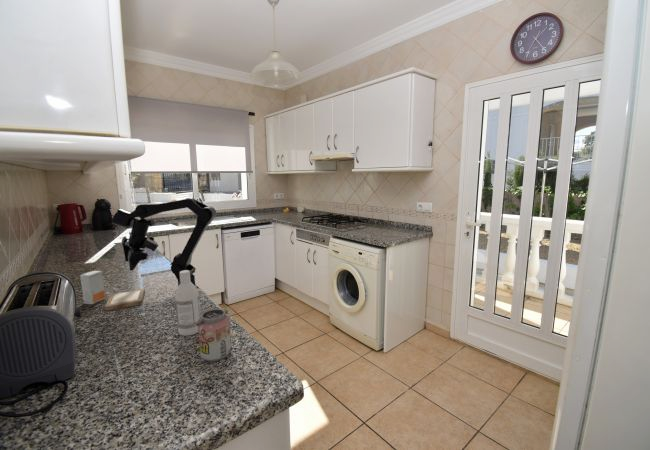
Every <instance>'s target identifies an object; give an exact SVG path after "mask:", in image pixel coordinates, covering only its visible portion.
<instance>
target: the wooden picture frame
mask: <svg viewBox="0 0 650 450" xmlns="http://www.w3.org/2000/svg"><path fill="white" fill-rule="evenodd" d="M145 294H146V289H145V288H140V289H134V290H128V291H123V292H115V293H111V294H110V296H109V298H108V300H107V302H106V303H105V305H104V311H109V310H117V309H123V308H127V307H133V306H139V305H143V303H144V302H143V301H144V300H145V299H144V298H145Z"/></svg>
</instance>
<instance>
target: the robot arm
mask: <svg viewBox="0 0 650 450" xmlns="http://www.w3.org/2000/svg"><path fill="white" fill-rule="evenodd" d="M186 208H187V209H189V210H190V211H191V212H192V213H193V214H195V215H197V217H196V222H195V223H196V224H195V226H194V228H193V231H192V232H191V234H190V236H189V238H188V240H187V242H186V243H185V244H186V245H184V247H183V250H182V252H181V253H180V252H179V253H177V254H176V255H174V257H173V259H172V262H171V263H170V264H169V265H170V271H171V272H172V274H173V275H174V276H175V277H176V280H177V285H178V286H177V288H178V287H179V285H180V283H181V282H180V271H183V270H189V271H190V280H191V282H192V284H193V285H194V286H195V287H196V288H197V289H198V288H199V286H198V285H196V278H195V274H194V273H196V270H197V268H196V267H194V265H192V264H191V263H192V258H193V254H194V252H195V250H196V248H197V246H198V244H199V242H200V240H201V238H202V236H203V235H204V233H205V230H206V229H207V228H208V226H209V225H210V224H211V223H212V222H213V221H214V219H215V218H216V217H217V211H216V209H215V208H214V207H213V206H209V205H206V204H205V203H202V202H201V201H198V200H197V199H195V197H188V198H187V197H186V198H185V199H179V200H178V199H177V200H173V201H168V202H162V203H161V202H160V203H159V202H157V203H156V202H154V203H153V202H151V203H150V202H147V203H143V204H142V203H141V204H138V205H137V206H136V207H135V210H133V211H130V212H129V211H127V210H125V209H122V208H120V209H117V211H116V212H115V214H114V215H113V216H112V217H111V224H112V225H115V226H118V227H122V228H125V229H129V228H131V230H130V231H129V232H128V235H129V236H128V235H125V236H123V237H122V239H121V246H122V250H123V255H124V260H125V262H128V266H129V271H131V272H133V271H134V270H135V268H136V267H137V265H138V264H139V263H140V262H142V261H145V260H147V259H148V257H149V254H148V253H147V251H146V250H145V249H149V250H150V251H152V252H155V251H156V250H157V248H158V247H160V246H159V243H158V242H157V241H156V240H155V238H154V237H153V235H150V236H147V233H148V230H149V227H153V226H155V225H156V222H155V221H154V219H153V218H150V217H153V216H156V215H159V214H161V213H164V212H169V211H177V210H181V209H186ZM147 218H150V219H147Z"/></svg>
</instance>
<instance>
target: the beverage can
mask: <svg viewBox="0 0 650 450" xmlns="http://www.w3.org/2000/svg"><path fill="white" fill-rule="evenodd" d="M228 312H229V311H228V309H226V308H225V309H222V308H212V309H207V310H205V311H204V312H202V313H201V315H200V319H198V321H197V322H196V323H195V325H196V326H198V333H197V334H198V343H199V350H200V352H199V353H200V357H201V359H202V360H205V361H206V362H219V361H221V360H222V359H224V358H226V357H227V356H228V355H229V354H230V353H231V351H232V339H231V327H230V319H229V317H228V316H227V314H228Z"/></svg>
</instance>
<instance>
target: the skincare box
mask: <svg viewBox="0 0 650 450" xmlns="http://www.w3.org/2000/svg"><path fill="white" fill-rule="evenodd" d="M79 277H80V283H81V292H82V298H83V304H85V305H94V304H96V303H98V302H101V301H104V300H105V299H106V291H105V283H104V276H103V270H92V271H87V272H85V273H83V274H80V275H79Z"/></svg>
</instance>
